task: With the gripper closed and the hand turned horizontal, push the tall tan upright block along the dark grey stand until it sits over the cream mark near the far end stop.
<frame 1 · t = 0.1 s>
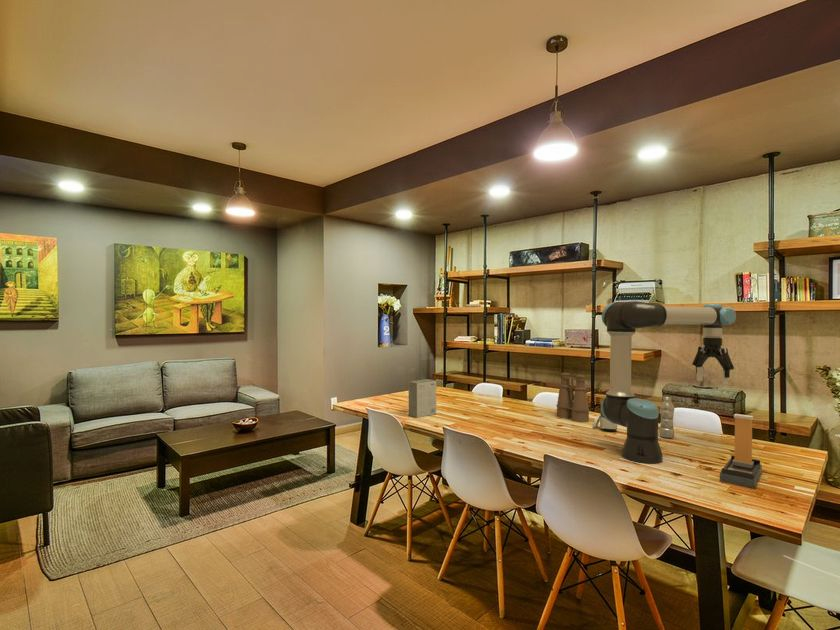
hand: (712, 382, 212), 28 cm above the table, tool pointing down, fingers open, 13 cm apart
dark grey stand: (741, 476, 166), on the table
hard drive box: (422, 415, 264), on the table
plastic bottle: (666, 438, 220), on the table
binoculars: (572, 418, 260), on the table
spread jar: (604, 430, 235), on the table
tan upright block: (743, 440, 169), point 13 cm above the table, slide at 0.0 cm
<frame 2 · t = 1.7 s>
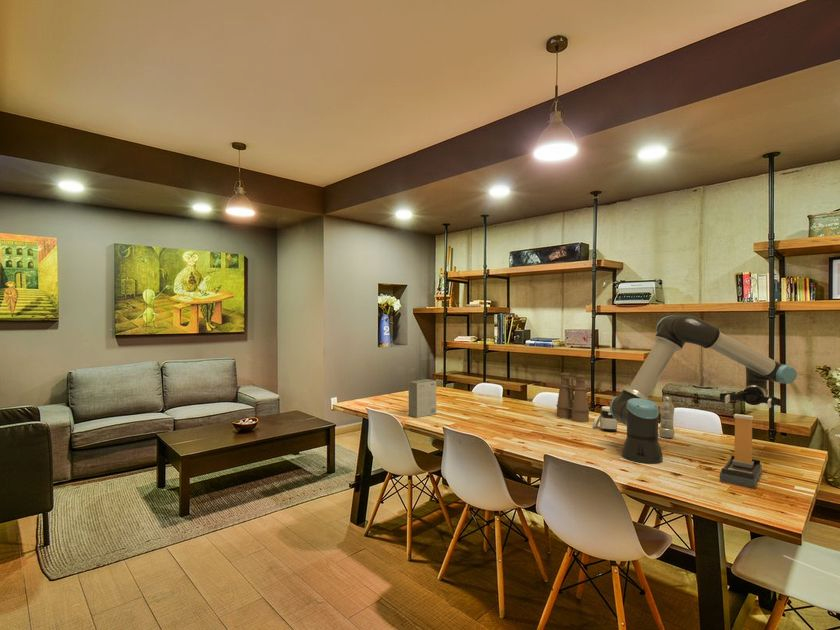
hand: (746, 402, 178), 25 cm above the table, tool horizontal, fingers open, 13 cm apart
nothing on the table moved.
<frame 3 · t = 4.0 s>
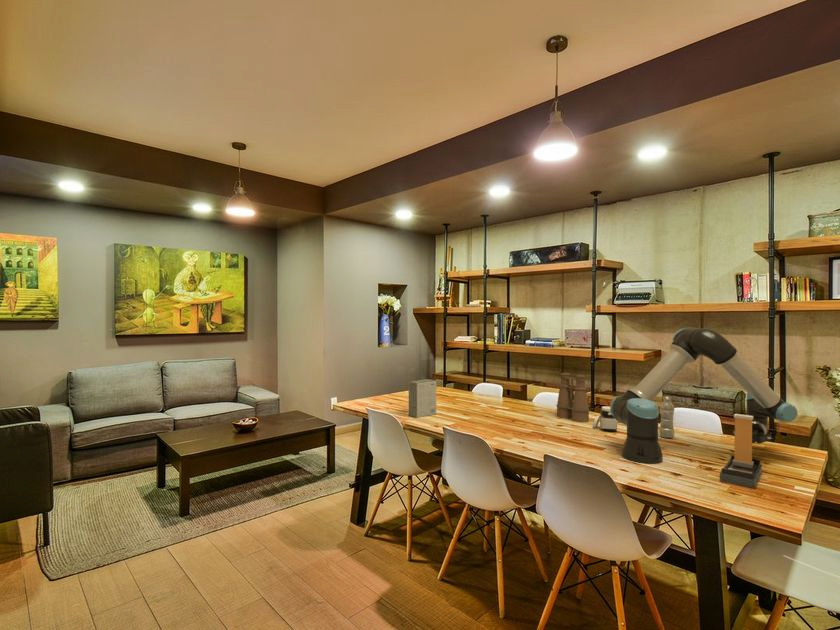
hand: (746, 442, 176), 10 cm above the table, tool horizontal, fingers closed
nothing on the table moved.
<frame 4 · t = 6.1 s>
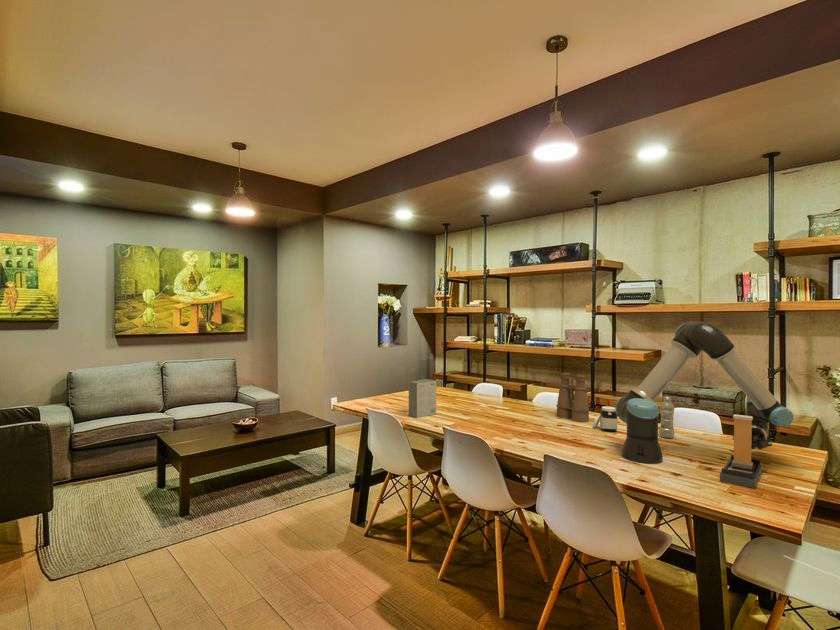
hand: (746, 448, 168), 10 cm above the table, tool horizontal, fingers closed
tan upright block: (742, 441, 168), point 13 cm above the table, slide at 1.6 cm, touching gripper
everything else where it was.
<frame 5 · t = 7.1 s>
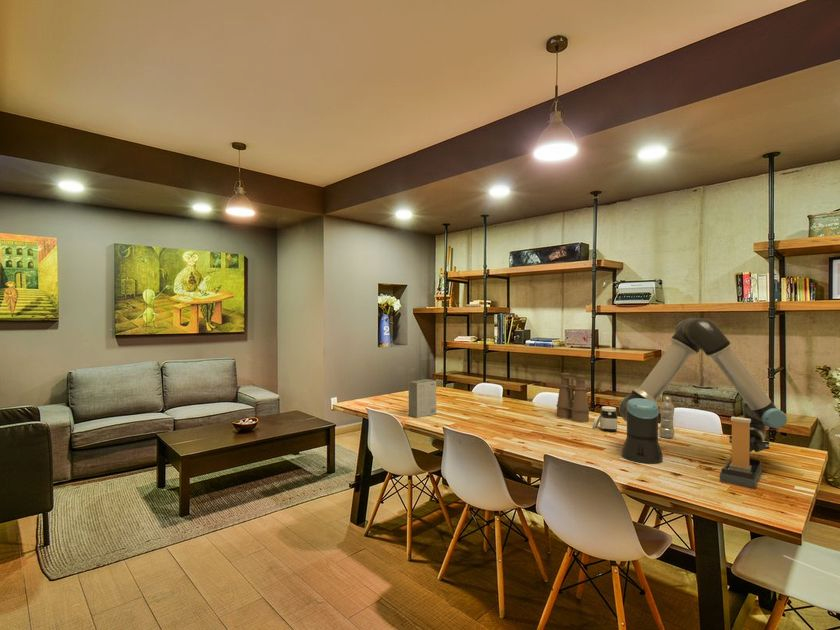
hand: (743, 450, 165), 10 cm above the table, tool horizontal, fingers closed
tan upright block: (740, 444, 164), point 13 cm above the table, slide at 7.0 cm, touching gripper
everything else where it was.
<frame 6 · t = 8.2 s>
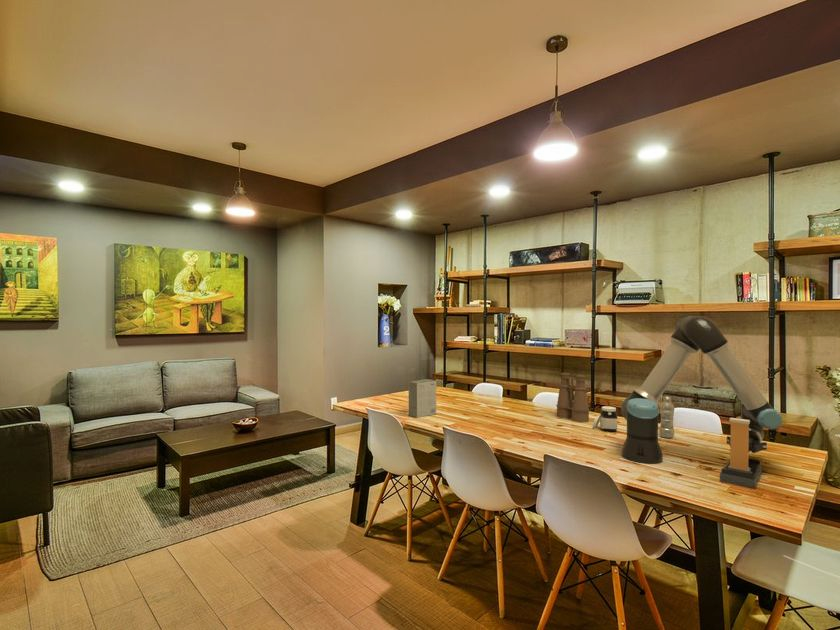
hand: (740, 451, 163), 10 cm above the table, tool horizontal, fingers closed
tan upright block: (739, 445, 162), point 13 cm above the table, slide at 9.6 cm, touching gripper
everything else where it was.
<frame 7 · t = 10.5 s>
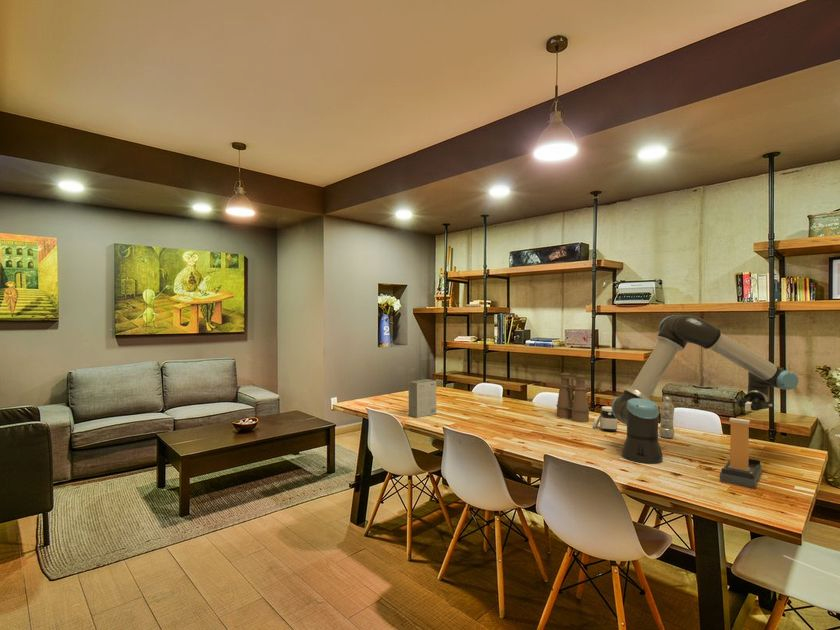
hand: (747, 407, 173), 24 cm above the table, tool horizontal, fingers closed
tan upright block: (739, 445, 162), point 13 cm above the table, slide at 9.7 cm
everything else where it was.
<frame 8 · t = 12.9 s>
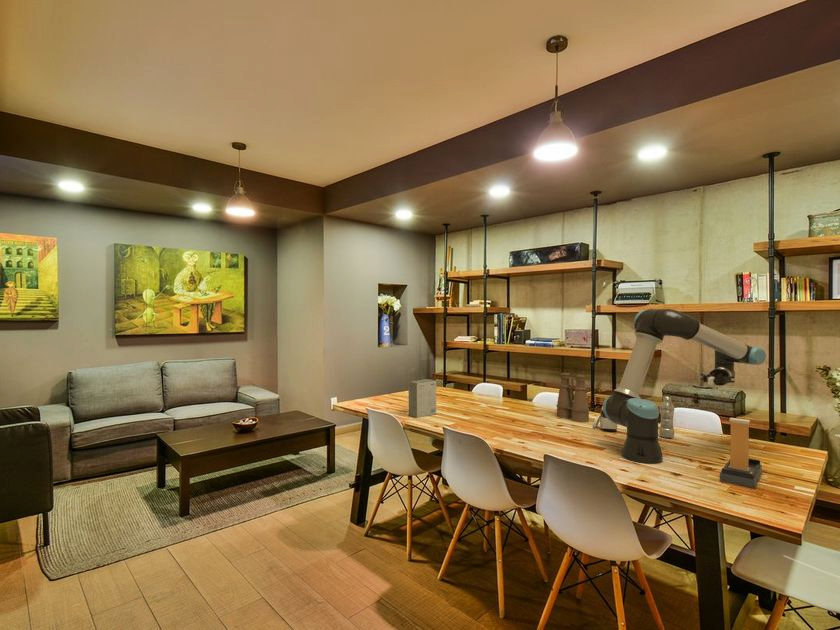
hand: (709, 381, 186), 32 cm above the table, tool horizontal, fingers closed
nothing on the table moved.
at the end: tan upright block slide at 9.7 cm; tan upright block touching nothing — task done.
